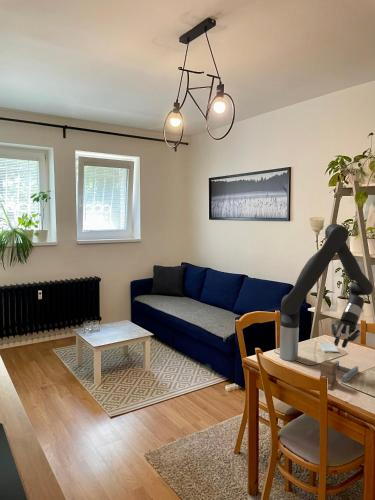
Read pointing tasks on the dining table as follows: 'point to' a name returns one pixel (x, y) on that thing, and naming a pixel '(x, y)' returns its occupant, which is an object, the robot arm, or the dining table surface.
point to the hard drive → (328, 347)
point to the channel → (349, 371)
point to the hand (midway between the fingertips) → (339, 345)
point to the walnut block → (329, 372)
